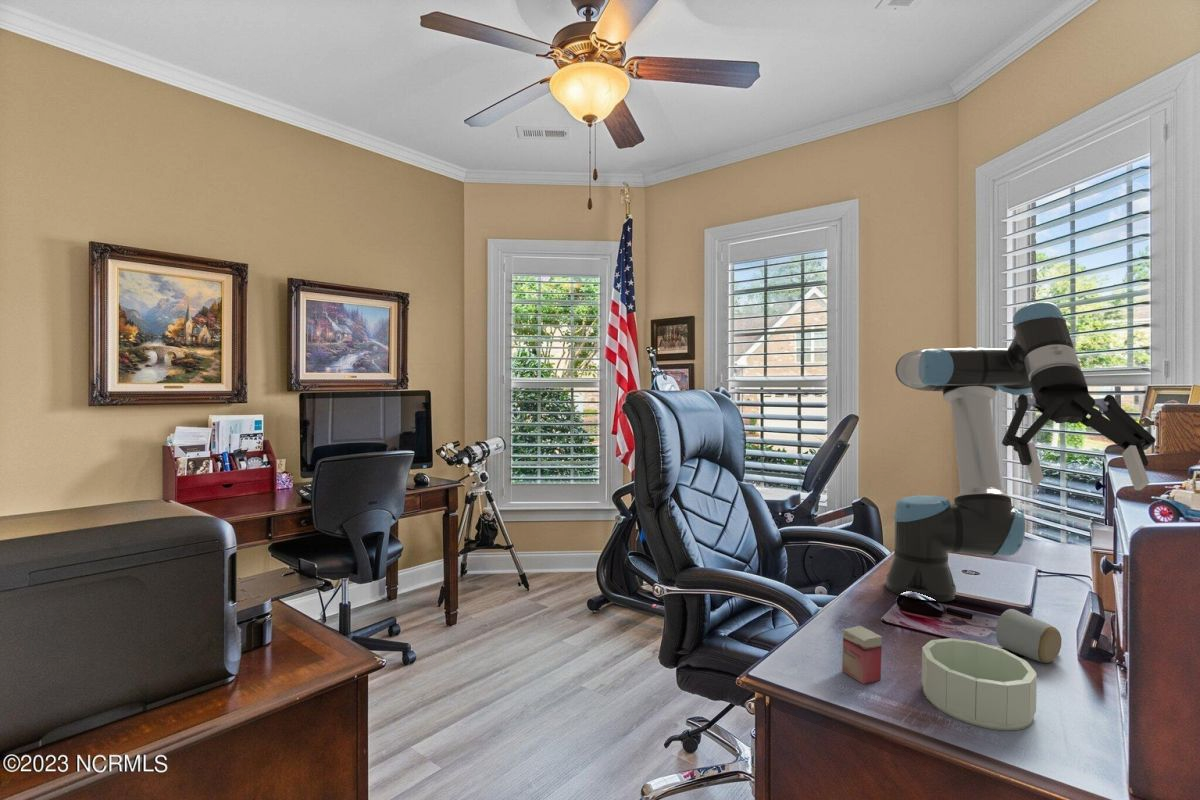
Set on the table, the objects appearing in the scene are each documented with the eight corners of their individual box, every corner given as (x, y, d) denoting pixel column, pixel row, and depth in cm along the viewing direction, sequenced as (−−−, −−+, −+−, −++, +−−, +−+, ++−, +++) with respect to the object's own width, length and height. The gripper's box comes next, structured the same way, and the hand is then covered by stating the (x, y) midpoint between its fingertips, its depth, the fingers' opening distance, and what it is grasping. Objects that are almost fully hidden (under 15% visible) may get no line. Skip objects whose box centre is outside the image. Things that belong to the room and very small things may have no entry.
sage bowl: (902, 682, 98) (903, 643, 98) (976, 673, 101) (977, 635, 101) (975, 736, 84) (976, 689, 83) (1059, 724, 86) (1060, 679, 86)
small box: (841, 671, 102) (841, 628, 102) (859, 666, 104) (859, 624, 104) (863, 685, 98) (864, 640, 97) (882, 680, 99) (882, 636, 99)
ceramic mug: (1041, 669, 103) (1043, 627, 102) (993, 650, 110) (995, 611, 110) (1073, 658, 107) (1074, 618, 107) (1024, 640, 115) (1026, 602, 114)
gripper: (980, 364, 102) (1004, 469, 91) (1153, 362, 94) (1203, 477, 83) (969, 388, 108) (990, 490, 97) (1131, 388, 100) (1174, 498, 89)
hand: (1088, 484), depth 90 cm, fingers open, 13 cm apart
